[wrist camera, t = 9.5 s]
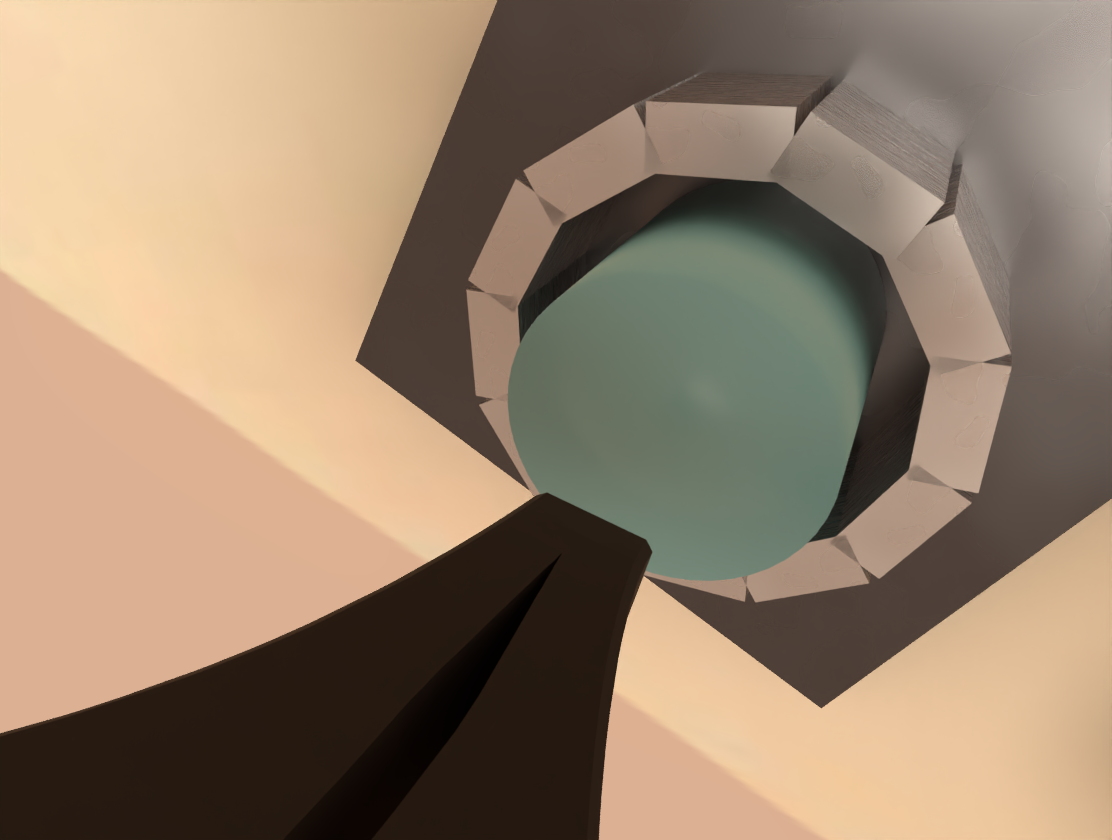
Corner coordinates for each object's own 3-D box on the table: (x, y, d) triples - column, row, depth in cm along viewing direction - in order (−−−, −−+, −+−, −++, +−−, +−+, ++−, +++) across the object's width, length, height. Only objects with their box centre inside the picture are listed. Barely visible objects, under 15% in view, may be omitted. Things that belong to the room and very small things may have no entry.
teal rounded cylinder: (668, 138, 15) (550, 213, 11) (940, 245, 14) (916, 369, 10) (594, 365, 18) (480, 488, 14) (814, 468, 17) (757, 632, 13)
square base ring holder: (646, -303, 13) (533, -377, 10) (1447, 213, 12) (1608, 315, 9) (378, 344, 22) (273, 415, 18) (828, 678, 20) (796, 814, 17)
